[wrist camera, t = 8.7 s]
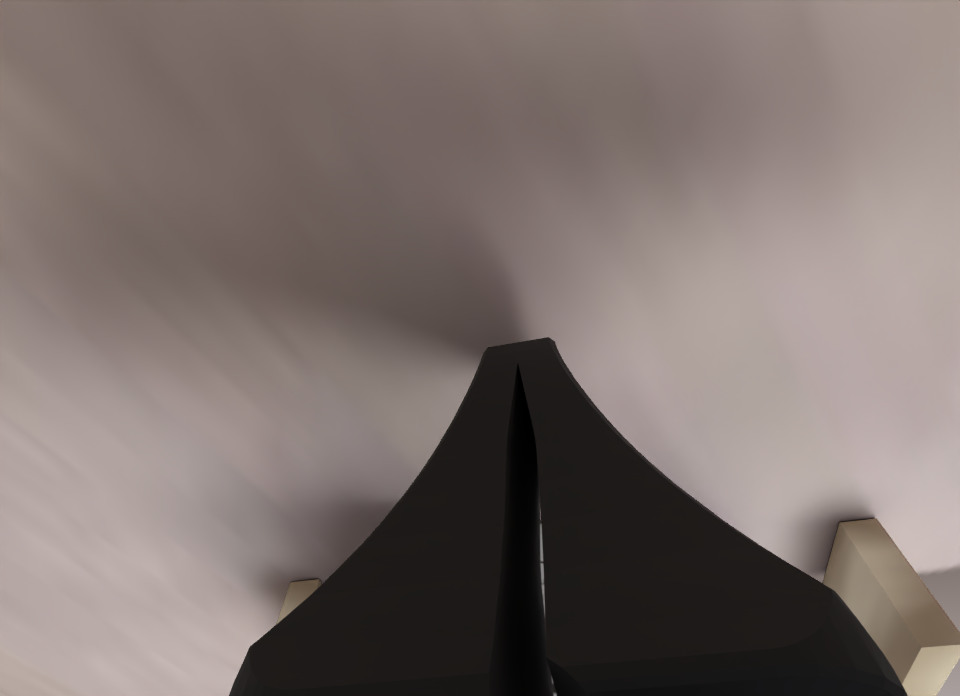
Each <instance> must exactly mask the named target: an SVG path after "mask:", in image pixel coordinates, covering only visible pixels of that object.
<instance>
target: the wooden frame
mask: <svg viewBox="0 0 960 696" xmlns="http://www.w3.org/2000/svg"><path fill="white" fill-rule="evenodd" d="M823 584H824V585H826V586H828V587H829V588H831V589H833V590H834V591H836V593H837V594H838V595H839V596H840V597H841V599H842V600H843V601H844V602H845V604H846V605H847V606H848V607H849V609H850V610H851V611H852V612H853V614H854V615H855V616H856V617H857V619H858V620H859V621H860V623H861V624H862V625H863V627H864V628H865V629H866V631H867V632H868V633H869V635H870V636H871V637H872V639H873V640H874V641H875V643H876V644H877V645H878V647H879V648H880V650H881V651H882V652H883V654H884V655H885V657H886V658H887V660H888V661H889V663H890V664H891V666H892V667H893V669H894V671H895V672H896V674H897V676H898V678H899V680H900V682H901V683H902V685H903V687H904V689H905V691H906V693H907V695H908V696H936V695H937V693H938V692H939V690H940V689H941V687H942V685H943V684H944V682H945V681H946V679H947V677H948V676H949V674H950V672H951V671H952V669H953V668H954V666H955V665H956V663H957V661H958V660H959V658H960V632H959V631H958V629H957V628H956V627H955V625H954V624H953V623H952V621H951V620H950V619H949V617H948V616H947V614H946V613H945V612H944V610H943V609H942V607H941V606H940V605H939V603H938V602H937V601H936V599H935V598H934V596H933V595H932V594H931V592H930V591H929V590H928V588H927V587H926V585H925V584H924V583H923V581H922V580H921V579H920V577H919V576H918V574H917V573H916V572H915V570H914V569H913V568H912V566H911V565H910V564H909V562H908V561H907V559H906V558H905V557H904V555H903V554H902V553H901V551H900V550H899V548H898V547H897V546H896V544H895V543H894V542H893V540H892V539H891V537H890V536H889V535H888V533H887V532H886V531H885V529H884V528H883V527H882V525H881V524H880V522H879V521H878V520H877V519H867V520H858V521H849V522H840V523H839V526H838V530H837V533H836V537H835V540H834V544H833V548H832V551H831V555H830V558H829V562H828V566H827V569H826V573H825V576H824V580H823ZM321 585H322V583H321V581H320V580H319V579H316V580H307V581H297V582H290V585H289V588H288V591H287V594H286V597H285V600H284V603H283V606H282V609H281V612H280V615H279V618H278V621H277V624H278V623H279V622H280V621H281V620H282V619H283V618H285V617H286V616H287V615H288V614H289V613H290V612H292V611H293V610H294V609H295V608H296V607H297V606H298V605H300V604H301V603H302V602H303V601H304V600H305V599H306V598H308V597H309V596H310V595H311V594H312V593H313V592H314V591H315V590H316V589H317V588H319V587H320V586H321ZM277 624H276V625H277Z"/></svg>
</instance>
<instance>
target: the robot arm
mask: <svg viewBox="0 0 960 696" xmlns="http://www.w3.org/2000/svg"><path fill="white" fill-rule="evenodd" d="M540 508H541V524H542V546H543V567H544V597H545V613H544V603H543V594H542V582H541V563H540ZM551 676H552V677H551ZM552 679H553V683H554V686H555V690H556V694H557V696H908V695H907V693H906V691H905V689H904V687H903V685H902V683H901V682H900V680H899V678H898V676H897V674H896V672H895V671H894V669H893V667H892V666H891V664H890V663H889V661H888V660H887V658H886V657H885V655H884V654H883V652H882V651H881V650H880V648H879V647H878V645H877V644H876V643H875V641H874V640H873V639H872V637H871V636H870V635H869V633H868V632H867V631H866V629H865V628H864V627H863V625H862V624H861V623H860V621H859V620H858V619H857V617H856V616H855V615H854V614H853V612H852V611H851V610H850V609H849V607H848V606H847V605H846V604H845V602H844V601H843V600H842V599H841V597H840V596H839V595H838V594H837V593H836V591H834V590H833V589H831V588H829V587H828V586H826V585H824V584H823V583H821V582H819V581H818V580H816V579H814V578H812V577H811V576H809V575H807V574H806V573H804V572H802V571H801V570H799V569H797V568H796V567H794V566H792V565H791V564H789V563H787V562H786V561H784V560H782V559H781V558H779V557H778V556H776V555H774V554H773V553H771V552H770V551H768V550H766V549H765V548H763V547H762V546H760V545H759V544H757V543H756V542H754V541H753V540H751V539H750V538H748V537H747V536H745V535H744V534H742V533H741V532H739V531H738V530H736V529H735V528H734V527H732V526H731V525H729V524H728V523H726V522H725V521H723V520H722V519H721V518H719V517H718V516H717V515H715V514H714V513H713V512H711V511H710V510H709V509H707V508H706V507H705V506H703V505H702V504H701V503H699V502H698V501H697V500H695V499H694V498H693V497H692V496H690V495H689V494H688V493H686V492H685V491H684V490H682V489H681V488H680V487H678V486H677V485H676V484H675V483H673V482H672V481H671V480H670V479H669V478H667V477H666V476H665V475H664V474H663V473H662V472H661V471H659V470H658V469H657V468H656V467H655V466H654V465H652V464H651V463H650V462H649V461H648V460H647V459H646V458H645V457H644V456H643V455H642V454H641V453H639V452H638V451H637V450H636V449H635V448H634V447H633V446H632V445H631V444H630V443H629V442H628V441H627V440H626V439H625V438H624V437H623V436H622V435H621V434H620V433H619V432H618V431H617V430H616V428H615V427H614V426H613V425H612V424H611V423H610V422H609V421H608V420H607V418H606V417H605V416H604V415H603V414H602V413H601V412H600V410H599V409H598V408H597V407H596V406H595V404H594V403H593V402H592V401H591V399H590V398H589V397H588V395H587V394H586V393H585V392H584V390H583V389H582V388H581V386H580V385H579V384H578V382H577V381H576V379H575V378H574V377H573V375H572V374H571V372H570V370H569V369H568V367H567V366H566V364H565V363H564V361H563V359H562V357H561V355H560V353H559V351H558V349H557V347H556V344H555V341H553V340H552V339H550V338H549V337H548V338H542V339H536V340H530V341H524V342H518V343H512V344H506V345H500V346H494V347H488V348H487V349H486V350H485V352H484V353H483V356H482V359H481V361H480V364H479V366H478V369H477V371H476V374H475V376H474V378H473V381H472V383H471V385H470V387H469V389H468V392H467V394H466V396H465V397H464V399H463V401H462V403H461V405H460V407H459V409H458V411H457V413H456V415H455V417H454V419H453V421H452V423H451V424H450V426H449V428H448V429H447V431H446V433H445V434H444V436H443V438H442V439H441V441H440V443H439V444H438V446H437V448H436V450H435V451H434V453H433V454H432V456H431V457H430V459H429V460H428V462H427V463H426V465H425V466H424V468H423V469H422V471H421V472H420V474H419V475H418V476H417V478H416V479H415V481H414V482H413V483H412V485H411V486H410V487H409V489H408V490H407V491H406V493H405V494H404V495H403V497H402V498H401V499H400V500H399V501H398V503H397V504H396V505H395V506H394V508H393V509H392V510H391V511H390V513H389V514H388V515H387V516H386V517H385V519H384V520H383V521H382V522H381V523H380V525H379V526H378V527H377V528H376V529H375V530H374V532H373V533H372V534H371V535H370V536H369V537H368V538H367V539H366V540H365V542H364V543H363V544H362V545H361V546H360V547H359V548H358V549H357V550H356V551H355V552H354V553H353V554H352V555H351V556H350V557H349V558H348V559H347V560H346V561H345V562H344V563H343V564H342V565H341V566H340V567H339V568H338V569H337V570H336V571H335V572H334V573H333V574H332V575H331V576H330V577H329V578H328V579H327V580H326V581H325V582H324V583H323V584H322V585H321V586H320V587H319V588H317V589H316V590H315V591H314V592H313V593H312V594H311V595H310V596H309V597H308V598H306V599H305V600H304V601H303V602H302V603H301V604H300V605H298V606H297V607H296V608H295V609H294V610H293V611H292V612H290V613H289V614H288V615H287V616H286V617H285V618H283V619H282V620H281V621H280V622H279V623H278V624H277V625H275V626H274V627H273V628H272V629H271V630H270V631H268V632H267V633H266V634H265V635H264V636H263V637H261V638H260V639H259V640H258V641H257V642H255V643H254V644H253V645H252V646H250V648H249V650H248V652H247V655H246V657H245V659H244V662H243V664H242V666H241V668H240V670H239V673H238V675H237V677H236V679H235V681H234V684H233V686H232V689H231V692H230V695H229V696H554V695H553V686H552Z"/></svg>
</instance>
